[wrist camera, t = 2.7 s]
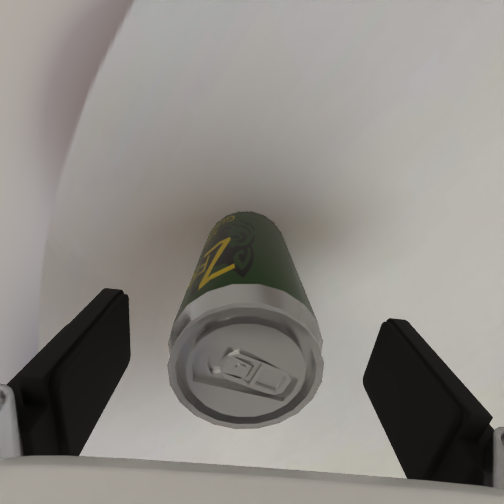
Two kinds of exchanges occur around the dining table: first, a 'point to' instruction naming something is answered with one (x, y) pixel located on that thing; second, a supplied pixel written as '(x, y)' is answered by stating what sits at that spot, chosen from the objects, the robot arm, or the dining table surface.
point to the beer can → (245, 330)
